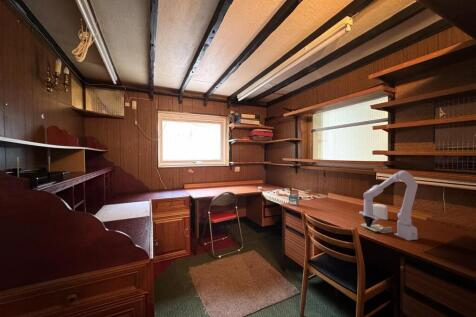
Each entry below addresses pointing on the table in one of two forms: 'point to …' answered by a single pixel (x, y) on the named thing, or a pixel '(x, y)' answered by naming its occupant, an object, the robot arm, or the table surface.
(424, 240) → the table surface
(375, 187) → the robot arm
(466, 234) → the table surface
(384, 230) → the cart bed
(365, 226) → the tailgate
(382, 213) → the photo printer
